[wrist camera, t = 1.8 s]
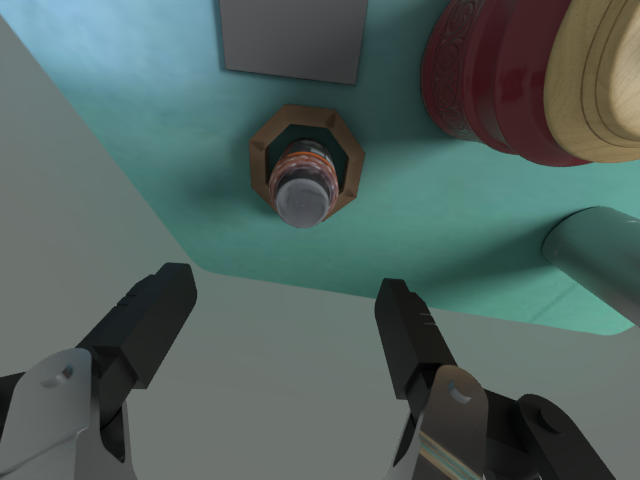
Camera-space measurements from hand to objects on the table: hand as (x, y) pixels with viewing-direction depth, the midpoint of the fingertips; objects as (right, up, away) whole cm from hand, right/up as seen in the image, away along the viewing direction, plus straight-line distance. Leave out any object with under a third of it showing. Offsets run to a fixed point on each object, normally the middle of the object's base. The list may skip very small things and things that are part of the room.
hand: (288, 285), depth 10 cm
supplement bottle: (0, +11, +17) cm, 20 cm away
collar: (0, +11, +16) cm, 20 cm away
